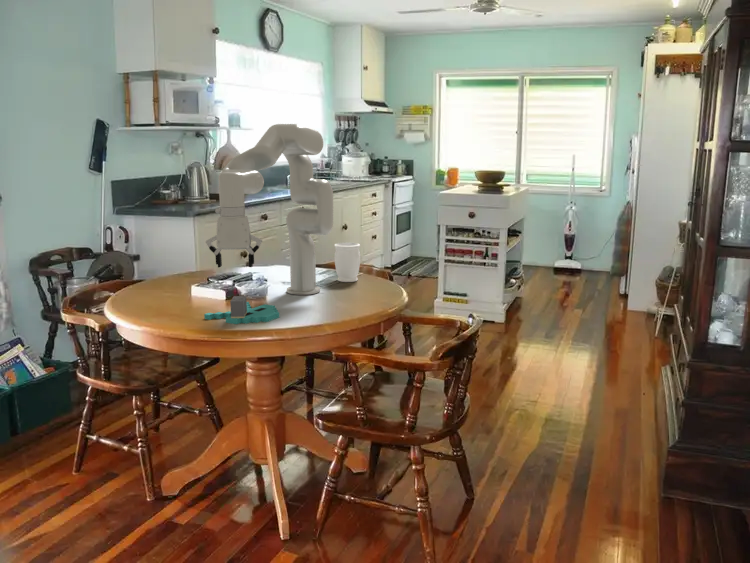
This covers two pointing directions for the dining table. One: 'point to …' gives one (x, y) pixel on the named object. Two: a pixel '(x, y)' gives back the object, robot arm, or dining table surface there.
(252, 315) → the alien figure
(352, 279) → the jar
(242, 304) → the block
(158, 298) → the dining table surface
